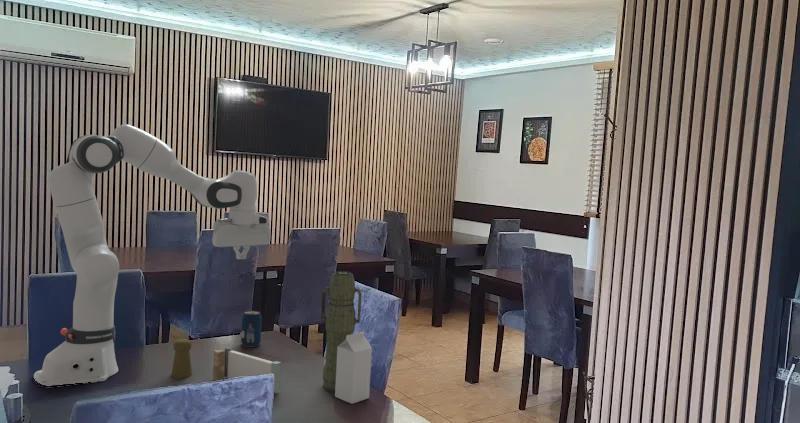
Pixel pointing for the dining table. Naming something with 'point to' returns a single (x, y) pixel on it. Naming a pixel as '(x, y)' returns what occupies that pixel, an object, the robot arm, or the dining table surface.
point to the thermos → (338, 320)
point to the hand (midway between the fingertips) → (241, 258)
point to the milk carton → (353, 369)
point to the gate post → (218, 364)
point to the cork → (182, 359)
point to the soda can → (251, 328)
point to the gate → (250, 366)
